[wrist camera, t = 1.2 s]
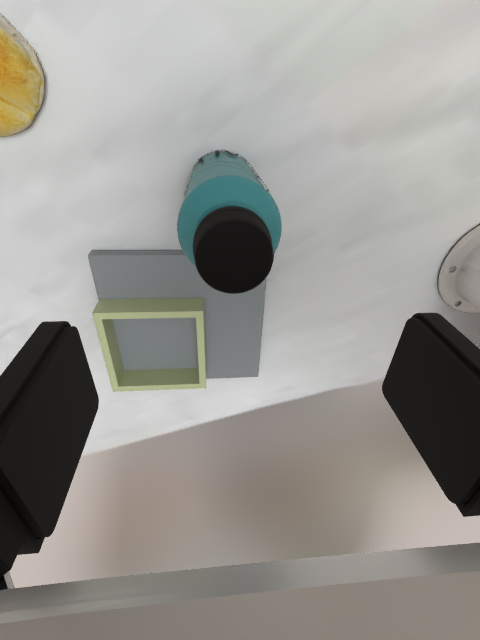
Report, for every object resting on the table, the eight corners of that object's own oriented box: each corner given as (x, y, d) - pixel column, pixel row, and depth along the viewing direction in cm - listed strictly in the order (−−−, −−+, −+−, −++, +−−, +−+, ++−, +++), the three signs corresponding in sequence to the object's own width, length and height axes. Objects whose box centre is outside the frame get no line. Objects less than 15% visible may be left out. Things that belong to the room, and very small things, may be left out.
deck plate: (266, 250, 36) (272, 266, 32) (256, 369, 46) (261, 392, 42) (92, 250, 34) (78, 267, 31) (121, 373, 44) (113, 398, 41)
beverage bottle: (219, 229, 34) (229, 341, 18) (174, 178, 31) (135, 257, 15) (267, 187, 32) (329, 269, 16) (224, 128, 29) (244, 154, 13)
